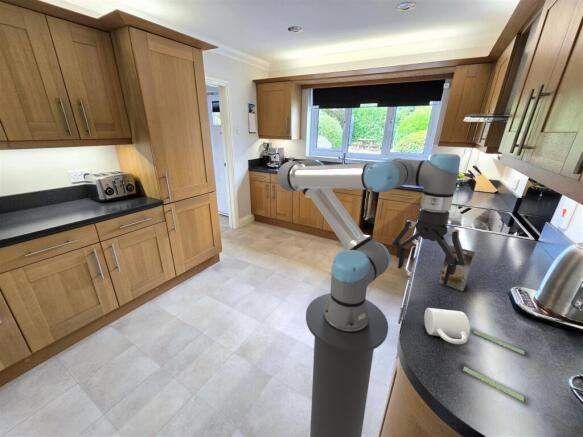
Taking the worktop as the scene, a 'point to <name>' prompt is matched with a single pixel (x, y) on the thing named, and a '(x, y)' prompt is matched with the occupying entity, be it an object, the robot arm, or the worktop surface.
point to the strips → (491, 380)
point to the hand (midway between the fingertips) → (421, 274)
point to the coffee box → (458, 270)
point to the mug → (447, 324)
